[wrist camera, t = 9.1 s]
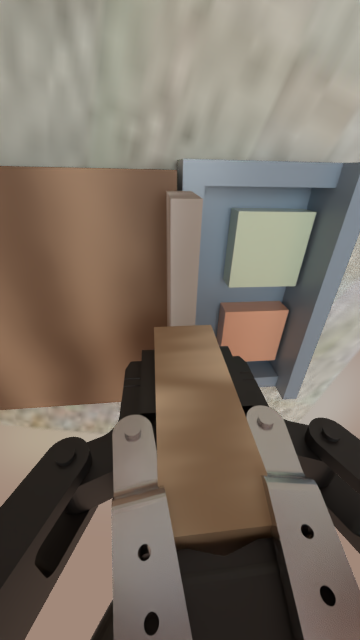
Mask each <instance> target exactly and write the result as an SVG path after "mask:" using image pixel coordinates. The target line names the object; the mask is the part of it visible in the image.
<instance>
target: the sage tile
mask: <svg viewBox="0 0 360 640" xmlns="http://www.w3.org/2000/svg"><path fill="white" fill-rule="evenodd" d="M316 213H317V212H314V211H310V210H306V209H291V208H231V217H230V225H229V233H228V242H227V250H226V258H225V267H224V275H223V280H224V281H225V283H226V284H227V286H228V287H229V288H233V287H279V286H296V282H297V279H298V275H299V272H300V268H301V265H302V261H303V258H304V254H305V251H306V247H307V244H308V240H309V237H310V233H311V230H312V227H313V223H314V220H315V216H316Z"/></svg>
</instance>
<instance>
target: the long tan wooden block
mask: <svg viewBox="0 0 360 640" xmlns="http://www.w3.org/2000/svg"><path fill="white" fill-rule="evenodd" d="M202 207H203V199H202V198H201V197H200V196H198V195H197V194H195V193H194V192H192V191H166V237H167V327H154V347H155V390H156V432H157V475H158V486H161V485H164V488H165V493H166V498H167V503H168V508H169V514H170V519H171V525H172V530H173V536H174V541H175V547H176V550H179V549H192V550H196V551H201V552H206V553H210V554H215V555H220V556H227V555H229V554H231V553H233V552H235V551H237V550H238V549H240V548H242V547H244V546H246V545H248V544H250V543H251V542H253V541H255V540H257V539H264V538H272V534H271V531H270V528H271V526H272V523H271V518H270V513H269V509H268V504H267V500H266V495H265V491H264V486H263V482H262V477H261V475H268V474H267V472H266V469H265V466H264V464H263V461H262V459H261V456H260V453H259V451H258V448H257V445H256V443H255V440H254V437H253V435H252V432H251V429H250V427H249V424H248V421H247V419H246V416H245V413H244V411H243V408H242V405H241V403H240V400H239V397H238V395H237V392H236V390H235V387H234V384H233V382H232V379H231V376H230V374H229V371H228V368H227V366H226V363H225V360H224V358H223V355H222V352H221V350H220V347H219V344H218V342H217V339H216V336H215V334H214V331H213V328H212V326H211V325H195V318H196V303H197V287H198V271H199V255H200V239H201V223H202Z"/></svg>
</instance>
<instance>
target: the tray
mask: <svg viewBox="0 0 360 640" xmlns="http://www.w3.org/2000/svg"><path fill="white" fill-rule="evenodd" d="M177 191H192V192H194V193H195V194H197V195H198V196H200V197H201V198H202V199H203V207H202V223H201V239H200V255H199V271H198V287H197V303H196V318H195V325H211V326H212V328H213V331H214V334H215V336H217V328H218V320H219V311H220V303H222V302H256V301H280V302H281V303H282V304H283V305H284V306H285V307H286V308H287V309H288V310H289V311H288V315H287V318H286V322H285V325H284V329H283V333H282V336H281V340H280V343H279V347H278V350H277V354H276V357H275V360H266V361H247V364H248V366H249V368H250V370H251V373H252V374H253V376H254V379H255V380H256V382H257V384H258V386H259V387H271V386H275V387H276V388H277V390H278V392H279V394H280V395H281V397H282V399H295V398H297V395H298V393H299V390H300V387H301V385H302V382H303V380H304V377H305V374H306V372H307V369H308V366H309V364H310V361H311V359H312V356H313V353H314V351H315V348H316V346H317V343H318V340H319V338H320V335H321V332H322V330H323V327H324V325H325V322H326V319H327V317H328V314H329V312H330V309H331V306H332V304H333V301H334V298H335V296H336V293H337V291H338V288H339V285H340V283H341V280H342V278H343V275H344V272H345V270H346V267H347V264H348V262H349V259H350V257H351V254H352V251H353V249H354V246H355V244H356V241H357V238H358V236H359V233H360V163H326V162H288V161H250V160H212V159H181V160H178V170H177ZM231 208H291V209H306V210H310V211H314V212H317V213H316V216H315V220H314V223H313V227H312V230H311V233H310V237H309V240H308V244H307V247H306V251H305V254H304V258H303V261H302V265H301V268H300V272H299V275H298V279H297V282H296V286H279V287H233V288H229V287H228V286H227V284H226V283H225V281H224V280H223V275H224V267H225V258H226V250H227V242H228V233H229V225H230V217H231Z"/></svg>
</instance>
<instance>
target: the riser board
mask: <svg viewBox="0 0 360 640" xmlns="http://www.w3.org/2000/svg"><path fill="white" fill-rule="evenodd" d="M166 191H177V170H157V169H111V168H65V167H19V166H0V410H7V409H22V408H37V407H51V406H66V405H80V404H95V403H110V402H121V401H122V393H123V385H124V376H125V369H126V368H127V366H128V365H129V364H130V362H132V361H141V358H142V350H152V349H155V347H154V327H167V237H166Z"/></svg>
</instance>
